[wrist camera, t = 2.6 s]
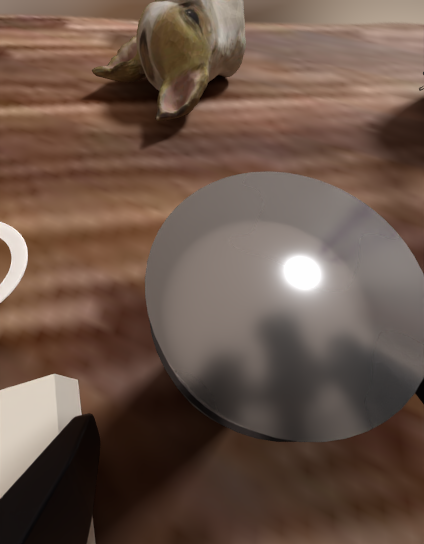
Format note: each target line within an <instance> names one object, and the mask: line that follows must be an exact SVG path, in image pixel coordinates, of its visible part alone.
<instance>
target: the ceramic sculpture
mask: <svg viewBox="0 0 424 544" xmlns="http://www.w3.org/2000/svg"><path fill="white" fill-rule="evenodd" d="M243 10H244V9H243V0H155V2H153V3H150V4H149V5H148V6H147V7H146V8H145V9H144V11H143V13H142V15H141V18H140V20H139V24H138V29H137V36H133V37H132V38H131V39H130V41H129V42H128V43H126V44H124V45H122V46H121V48H120V49H119V50H118V53H117V55H116V56H114V57H113V58H112V59H111V61H110V62H109V64H108V65H107V66H100V67H96V68H94V69H93V70H92V72H93V73H94V74H95V75H96V76H99V77H103V78H107V79H110V80H115V81H120V82H135V81H139V80H141V79H143V78H145V77H147V79H148V81H149V82H150V83H151V84H152V85H153V86H154V87H155V88H156V89H157V90H158V91H159V95H158V100H157V103H158V112H157V115H156V120H157V121H163V120H169V119H174V118H178V117H181V116H183V115H186V114H188V113H189V112H190V111H192V110H193V108H194V107H195V106H196V104H197V103H198V102H199V100H200V97H201V96H202V94H203V91H204V90H205V89H206V87H207V84H208V82H209V81H211V80H212V79H214V78H215V77H216V76H217V75H221V76H223V77H230V76H232V75H233V74H234V73H236V71H237V70H238V68H239V67H240V65H241V63H242V59H243V55H244V51H245V47H246V40H245V21H244V11H243Z"/></svg>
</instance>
